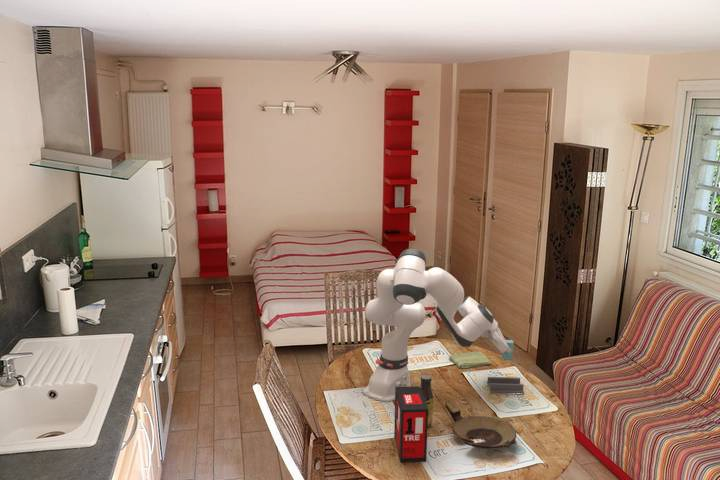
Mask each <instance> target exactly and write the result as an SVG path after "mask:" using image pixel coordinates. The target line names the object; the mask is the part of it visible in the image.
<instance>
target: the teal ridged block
mask: <svg viewBox="0 0 720 480" xmlns="http://www.w3.org/2000/svg"><path fill="white" fill-rule="evenodd" d="M505 341H506V343H507V345H508V347H510V348H511V350H512V351H511V352H510V353H508V352H507V351H505V352H504V353H502V352H501V359H502V361H513V360H514V344H515V342H514V341H513V339H505Z"/></svg>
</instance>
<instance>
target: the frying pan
mask: <svg viewBox="0 0 720 480" xmlns="http://www.w3.org/2000/svg"><path fill="white" fill-rule="evenodd" d="M444 405H445V408H446V409H447V411H448V412H449V414H450V416H451V418H452V420H453V421H454V423H453V425H452V434H453V435H454V436H455V437H456V438H457V439H460V440H462V441H465V442H464V445H468V446H470V447H473V448H478V449H485V450H486V449H487V450H489V449H490V450H491V449H492V450H493V449H502V448H510V447H511V445H514V444H516V443H517V441H516V438H517V431H516V428H515V427H514V426H513V425H511V423H509V422H508V421H504V420H503V419H500V418H496V417H492V416H486V415H485V416H483V415H481V416H480V415H472V416H471V415H470V416H465V417H464V416H461V411H462V410H461V409H457V408H454V407H453V406H452V405H451V404H450V403H449V402H445V404H444ZM474 438H478V439H480V438H481V440H483V439H484V440H483V441H481V442H475V440H474Z"/></svg>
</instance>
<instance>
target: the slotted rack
mask: <svg viewBox="0 0 720 480" xmlns="http://www.w3.org/2000/svg"><path fill="white" fill-rule="evenodd" d="M487 384H488V385H487ZM486 385H487V387H489V388H488V389H489V393H490V394H493V393H523V394H522V395H524V394H525V391H524V386H525V385H524V384H523V383H521V377H509V376H508V377H507V376H487V380H486Z"/></svg>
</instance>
